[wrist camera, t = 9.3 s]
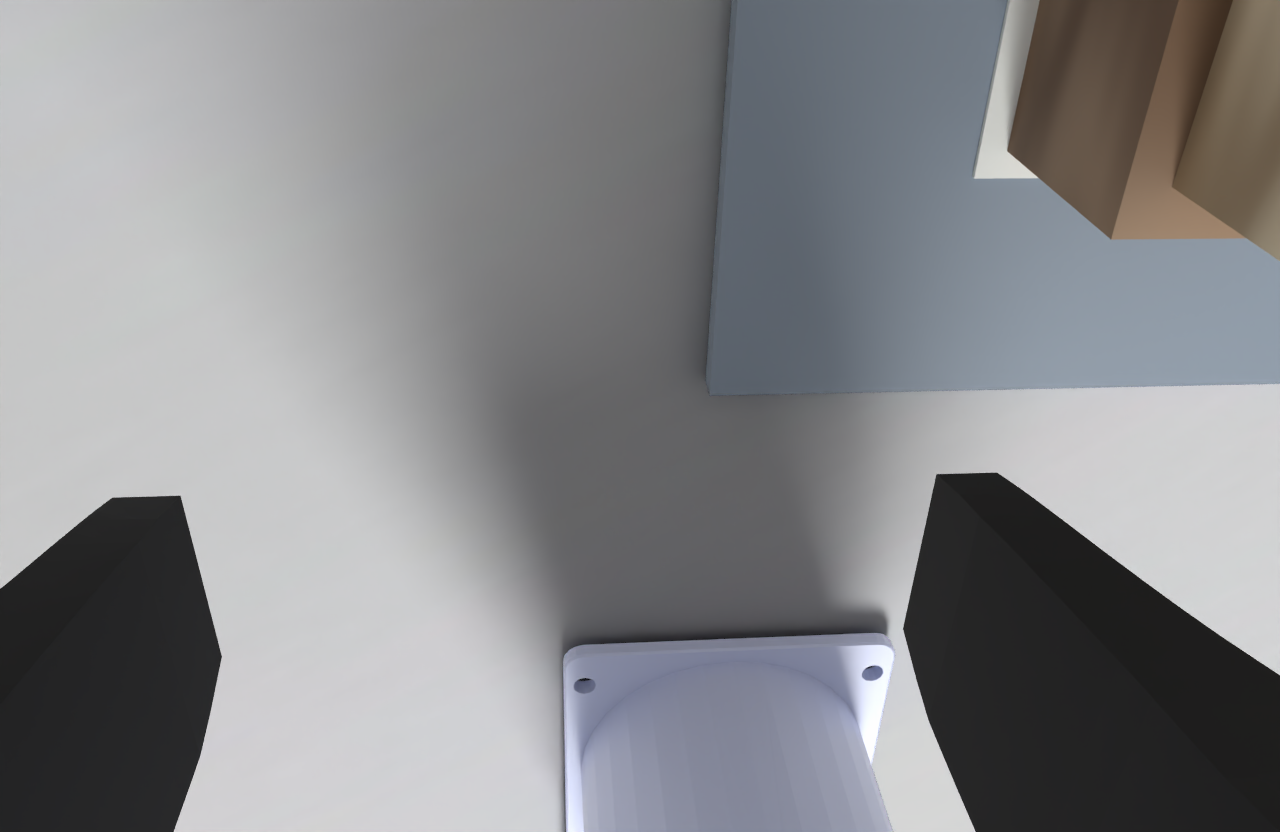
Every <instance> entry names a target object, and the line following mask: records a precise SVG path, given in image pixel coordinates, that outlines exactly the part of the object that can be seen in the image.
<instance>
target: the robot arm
mask: <svg viewBox="0 0 1280 832" xmlns="http://www.w3.org/2000/svg"><path fill="white" fill-rule="evenodd" d="M903 630H904V634H905V637H906V641H907V645H908V649H909V653H910V656H911V660H912V664H913V668H914V671H915V675H916V679H917V682H918V686H919V689H920V693H921V696H922V699H923V703H924V706H925V710H926V713H927V716H928V720H929V722H930V725H931V727H932V730H933V732H934V734H935V737H936V739H937V742H938V744H939V747H940V749H941V751H942V754H943V756H944V758H945V761H946V763H947V766H948V768H949V770H950V773H951V775H952V777H953V780H954V782H955V785H956V787H957V789H958V792H959V794H960V796H961V799H962V801H963V803H964V806H965V808H966V810H967V813H968V815H969V817H970V819H971V822H972V824H973V826H974V829H975V831H976V832H1280V675H1278V674H1277V673H1275V672H1274V671H1272V670H1271V669H1269V668H1268V667H1266V666H1265V665H1263V664H1262V663H1260V662H1259V661H1257V660H1256V659H1254V658H1253V657H1251V656H1250V655H1248V654H1247V653H1245V652H1244V651H1242V650H1241V649H1239V648H1238V647H1236V646H1235V645H1233V644H1232V643H1230V642H1229V641H1227V640H1226V639H1224V638H1223V637H1221V636H1220V635H1218V634H1217V633H1215V632H1214V631H1212V630H1211V629H1210V628H1208V627H1207V626H1205V625H1204V624H1202V623H1201V622H1200V621H1198V620H1197V619H1195V618H1194V617H1192V616H1191V615H1190V614H1188V613H1187V612H1185V611H1184V610H1183V609H1181V608H1180V607H1178V606H1177V605H1176V604H1174V603H1173V602H1171V601H1170V600H1169V599H1167V598H1166V597H1165V596H1163V595H1162V594H1160V593H1159V592H1158V591H1156V590H1155V589H1154V588H1152V587H1151V586H1150V585H1148V584H1147V583H1145V582H1144V581H1143V580H1141V579H1140V578H1139V577H1137V576H1136V575H1135V574H1133V573H1132V572H1131V571H1129V570H1128V569H1127V568H1125V567H1124V566H1123V565H1121V564H1120V563H1119V562H1117V561H1116V560H1115V559H1113V558H1112V557H1111V556H1109V555H1108V554H1107V553H1105V552H1104V551H1103V550H1101V549H1100V548H1099V547H1097V546H1096V545H1095V544H1093V543H1092V542H1091V541H1089V540H1088V539H1087V538H1085V537H1084V536H1083V535H1081V534H1080V533H1079V532H1078V531H1076V530H1075V529H1074V528H1072V527H1071V526H1070V525H1068V524H1067V523H1066V522H1064V521H1063V520H1062V519H1060V518H1059V517H1058V516H1056V515H1055V514H1054V513H1052V512H1051V511H1050V510H1048V509H1047V508H1046V507H1044V506H1043V505H1042V504H1040V503H1039V502H1038V501H1036V500H1035V499H1034V498H1032V497H1031V496H1030V495H1028V494H1027V493H1026V492H1024V491H1023V490H1021V489H1020V488H1019V487H1017V486H1016V485H1014V484H1013V483H1011V482H1010V481H1008V480H1007V479H1005V478H1004V477H1002V476H1001V475H999V474H998V473H969V474H937V475H936V479H935V484H934V489H933V493H932V498H931V502H930V507H929V512H928V516H927V521H926V526H925V530H924V535H923V539H922V544H921V549H920V553H919V558H918V562H917V567H916V572H915V576H914V581H913V586H912V590H911V595H910V599H909V604H908V609H907V613H906V618H905V622H904V627H903ZM221 658H222V656H221V652H220V648H219V644H218V640H217V636H216V632H215V629H214V625H213V621H212V617H211V613H210V609H209V605H208V601H207V598H206V594H205V590H204V586H203V582H202V578H201V574H200V570H199V566H198V563H197V559H196V555H195V551H194V547H193V543H192V539H191V535H190V531H189V528H188V524H187V520H186V516H185V512H184V508H183V504H182V500H181V496H158V497H122V498H111V499H110V500H109V501H107V502H106V503H105V504H103V505H102V506H101V507H99V508H98V509H97V510H95V511H94V512H93V513H92V514H90V515H89V516H88V517H87V518H85V519H84V520H83V521H82V522H80V523H79V524H78V525H77V526H76V527H74V528H73V529H72V530H71V531H69V532H68V533H67V534H66V535H65V536H63V537H62V538H61V539H60V540H59V541H57V542H56V543H55V544H54V545H53V546H51V547H50V548H49V549H48V550H47V551H45V552H44V553H43V554H42V555H41V556H39V557H38V558H37V559H36V560H35V561H33V562H32V563H31V564H30V565H29V566H27V567H26V568H25V569H24V570H23V571H21V572H20V573H19V574H18V575H17V576H16V577H14V578H13V579H12V580H11V581H10V582H8V583H7V584H6V585H5V586H3V587H2V588H1V589H0V832H174V829H175V826H176V823H177V820H178V817H179V815H180V812H181V809H182V806H183V803H184V801H185V798H186V795H187V792H188V789H189V787H190V784H191V781H192V778H193V775H194V772H195V769H196V766H197V763H198V761H199V758H200V754H201V750H202V746H203V742H204V737H205V733H206V729H207V724H208V720H209V716H210V711H211V707H212V702H213V697H214V692H215V687H216V682H217V677H218V672H219V667H220V662H221ZM894 659H895V650H894V647H893V645H892V642H891V640H890V639H889V638H888V637H887V636H886V635H884V634H880V633H859V634H834V635H810V636H785V637H761V638H737V639H712V640H688V641H663V642H639V643H615V644H590V645H580V646H576V647H574V648H572V649H570V650H569V651H568V652H567V653H566V654H565V655H564V659H563V685H564V742H565V798H566V832H893V829H892V826H891V823H890V820H889V817H888V814H887V811H886V808H885V805H884V802H883V799H882V796H881V793H880V790H879V787H878V784H877V781H876V778H875V775H874V772H873V769H872V761H873V757H874V752H875V747H876V743H877V738H878V733H879V729H880V724H881V719H882V715H883V710H884V705H885V701H886V696H887V691H888V687H889V682H890V677H891V673H892V668H893V663H894ZM873 665H876V666H874V667H873V668H869V669H866V668H867V667H869V666H873ZM582 678H589V679H591V680H589V681H578V680H579V679H582Z"/></svg>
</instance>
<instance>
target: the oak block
mask: <svg viewBox="0 0 1280 832" xmlns="http://www.w3.org/2000/svg"><path fill="white" fill-rule="evenodd" d="M1172 188H1174V189H1175V190H1177V191H1178V192H1180V193H1181V194H1183V195H1184V196H1185V197H1187V198H1188V199H1190V200H1191V201H1193V202H1194V203H1196V204H1197V205H1199V206H1200V207H1201V208H1203V209H1204V210H1206V211H1207V212H1209V213H1210V214H1212V215H1213V216H1215V217H1216V218H1217V219H1219V220H1220V221H1222V222H1223V223H1225V224H1226V225H1228V226H1229V227H1231V228H1232V229H1233V230H1235V231H1236V232H1238V233H1239V234H1241V235H1242V236H1244V237H1245V238H1247V239H1248V240H1250V241H1251V242H1252V243H1254V244H1255V245H1257V246H1258V247H1260V248H1261V249H1263V250H1264V251H1266V252H1267V253H1268V254H1270V255H1271V256H1273V257H1274V258H1276V259H1277V260H1279V261H1280V0H1233V2H1232V5H1231V8H1230V11H1229V14H1228V17H1227V20H1226V23H1225V26H1224V29H1223V32H1222V35H1221V39H1220V42H1219V45H1218V48H1217V51H1216V54H1215V57H1214V60H1213V63H1212V66H1211V69H1210V72H1209V75H1208V78H1207V81H1206V85H1205V88H1204V91H1203V94H1202V97H1201V100H1200V103H1199V106H1198V109H1197V112H1196V115H1195V118H1194V121H1193V124H1192V127H1191V130H1190V134H1189V137H1188V140H1187V143H1186V146H1185V149H1184V152H1183V155H1182V158H1181V161H1180V164H1179V167H1178V170H1177V173H1176V176H1175V180H1174V183H1173V186H1172Z"/></svg>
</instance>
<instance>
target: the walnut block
mask: <svg viewBox="0 0 1280 832" xmlns="http://www.w3.org/2000/svg"><path fill="white" fill-rule="evenodd" d="M1232 2H1233V0H1040V1H1039V6H1038V11H1037V15H1036V20H1035V24H1034V29H1033V34H1032V38H1031V43H1030V47H1029V52H1028V57H1027V61H1026V66H1025V71H1024V75H1023V80H1022V84H1021V89H1020V94H1019V98H1018V103H1017V108H1016V112H1015V117H1014V121H1013V126H1012V131H1011V135H1010V140H1009V145H1008V149H1007V152H1009V153H1010V154H1011V155H1012V156H1013V157H1014V158H1016V159H1017V160H1018V161H1019V162H1020V163H1022V164H1023V165H1024V166H1025V167H1026V168H1027V169H1029V170H1030V171H1031V172H1032V173H1033V174H1034V175H1036V176H1037V177H1038V178H1039V179H1040V180H1042V181H1043V182H1044V183H1045V184H1046V185H1047V186H1049V187H1050V188H1051V189H1052V190H1053V191H1054V192H1056V193H1057V194H1058V195H1059V196H1060V197H1062V198H1063V199H1064V200H1065V201H1066V202H1067V203H1069V204H1070V205H1071V206H1072V207H1073V208H1074V209H1076V210H1077V211H1078V212H1079V213H1080V214H1082V215H1083V216H1084V217H1085V218H1086V219H1087V220H1089V221H1090V222H1091V223H1092V224H1093V225H1094V226H1096V227H1097V228H1098V229H1099V230H1100V231H1102V232H1103V233H1104V234H1105V235H1106V236H1107V237H1109V238H1110V239H1111V240H1122V239H1236V238H1245V237H1244V236H1242V235H1241V234H1239V233H1238V232H1236V231H1235V230H1233V229H1232V228H1231V227H1229V226H1228V225H1226V224H1225V223H1223V222H1222V221H1220V220H1219V219H1217V218H1216V217H1215V216H1213V215H1212V214H1210V213H1209V212H1207V211H1206V210H1204V209H1203V208H1201V207H1200V206H1199V205H1197V204H1196V203H1194V202H1193V201H1191V200H1190V199H1188V198H1187V197H1185V196H1184V195H1183V194H1181V193H1180V192H1178V191H1177V190H1175V189H1174V188H1172V186H1173V183H1174V180H1175V176H1176V173H1177V170H1178V167H1179V164H1180V161H1181V158H1182V155H1183V152H1184V149H1185V146H1186V143H1187V140H1188V137H1189V134H1190V130H1191V127H1192V124H1193V121H1194V118H1195V115H1196V112H1197V109H1198V106H1199V103H1200V100H1201V97H1202V94H1203V91H1204V88H1205V85H1206V81H1207V78H1208V75H1209V72H1210V69H1211V66H1212V63H1213V60H1214V57H1215V54H1216V51H1217V48H1218V45H1219V42H1220V39H1221V35H1222V32H1223V29H1224V26H1225V23H1226V20H1227V17H1228V14H1229V11H1230V8H1231V5H1232Z"/></svg>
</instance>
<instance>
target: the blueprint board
mask: <svg viewBox="0 0 1280 832" xmlns="http://www.w3.org/2000/svg"><path fill="white" fill-rule="evenodd" d="M1039 1H1040V0H732V1H731V15H730V30H729V44H728V59H727V74H726V88H725V103H724V117H723V132H722V146H721V161H720V176H719V190H718V205H717V219H716V234H715V248H714V263H713V278H712V292H711V307H710V321H709V336H708V350H707V365H706V379H705V381H706V385H707V388H708V392H709V396H721V395H769V394H816V393H863V392H911V391H958V390H1005V389H1052V388H1100V387H1147V386H1194V385H1242V384H1280V261H1279V260H1277V259H1276V258H1274V257H1273V256H1271V255H1270V254H1268V253H1267V252H1266V251H1264V250H1263V249H1261V248H1260V247H1258V246H1257V245H1255V244H1254V243H1252V242H1251V241H1250V240H1248V239H1247V238H1236V239H1122V240H1111V239H1110V238H1109V237H1107V236H1106V235H1105V234H1104V233H1103V232H1102V231H1100V230H1099V229H1098V228H1097V227H1096V226H1094V225H1093V224H1092V223H1091V222H1090V221H1089V220H1087V219H1086V218H1085V217H1084V216H1083V215H1082V214H1080V213H1079V212H1078V211H1077V210H1076V209H1074V208H1073V207H1072V206H1071V205H1070V204H1069V203H1067V202H1066V201H1065V200H1064V199H1063V198H1062V197H1060V196H1059V195H1058V194H1057V193H1056V192H1054V191H1053V190H1052V189H1051V188H1050V187H1049V186H1047V185H1046V184H1045V183H1044V182H1043V181H1042V180H1040V179H1039V178H1038V177H1037V176H1036V175H1034V174H1033V173H1032V172H1031V171H1030V170H1029V169H1027V168H1026V167H1025V166H1024V165H1023V164H1022V163H1020V162H1019V161H1018V160H1017V159H1016V158H1014V157H1013V156H1012V155H1011V154H1010V153H1009V152H1007V149H1008V145H1009V140H1010V135H1011V131H1012V126H1013V121H1014V117H1015V112H1016V108H1017V103H1018V98H1019V94H1020V89H1021V84H1022V80H1023V75H1024V71H1025V66H1026V61H1027V57H1028V52H1029V47H1030V43H1031V38H1032V34H1033V29H1034V24H1035V20H1036V15H1037V11H1038V6H1039Z"/></svg>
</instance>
